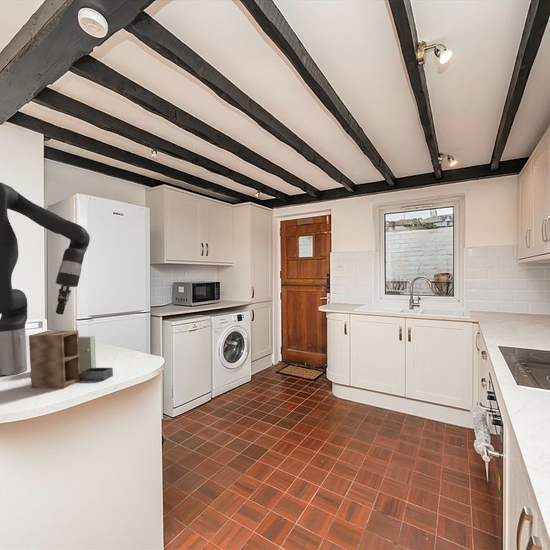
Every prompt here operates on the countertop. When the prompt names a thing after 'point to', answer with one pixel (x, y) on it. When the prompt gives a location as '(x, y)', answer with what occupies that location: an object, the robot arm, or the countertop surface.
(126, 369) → the countertop surface
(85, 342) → the sage green block
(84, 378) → the dark grey rectangular frame
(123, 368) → the countertop surface
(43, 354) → the cabinet
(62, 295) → the robot arm
